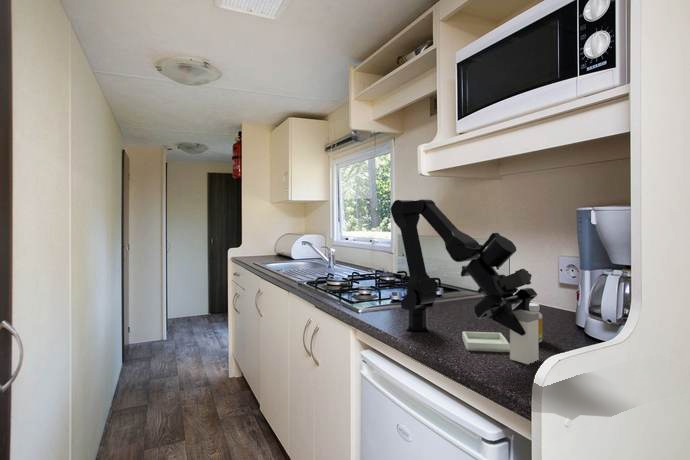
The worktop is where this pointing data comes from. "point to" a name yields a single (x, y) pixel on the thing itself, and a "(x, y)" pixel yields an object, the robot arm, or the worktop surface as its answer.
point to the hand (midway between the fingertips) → (529, 332)
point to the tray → (485, 342)
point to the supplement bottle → (535, 308)
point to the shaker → (525, 338)
